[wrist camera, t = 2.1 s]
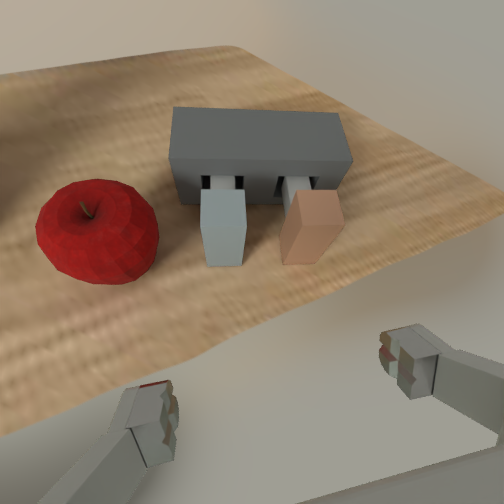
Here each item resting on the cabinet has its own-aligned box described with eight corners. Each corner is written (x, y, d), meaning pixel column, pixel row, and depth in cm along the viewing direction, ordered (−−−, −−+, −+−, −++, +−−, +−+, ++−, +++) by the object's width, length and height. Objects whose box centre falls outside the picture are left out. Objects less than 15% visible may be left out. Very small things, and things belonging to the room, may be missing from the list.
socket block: (181, 204, 33) (168, 158, 26) (183, 158, 37) (173, 106, 30) (327, 204, 36) (353, 161, 28) (317, 161, 39) (338, 113, 32)
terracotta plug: (282, 264, 31) (302, 225, 23) (274, 197, 35) (288, 144, 27) (314, 263, 31) (345, 225, 23) (302, 197, 35) (324, 145, 27)
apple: (66, 256, 29) (-16, 196, 19) (138, 210, 33) (100, 139, 23) (115, 319, 27) (49, 288, 17) (188, 262, 30) (169, 209, 20)
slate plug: (207, 266, 30) (200, 226, 22) (208, 197, 34) (202, 142, 26) (241, 265, 30) (246, 226, 22) (237, 197, 34) (241, 143, 26)
